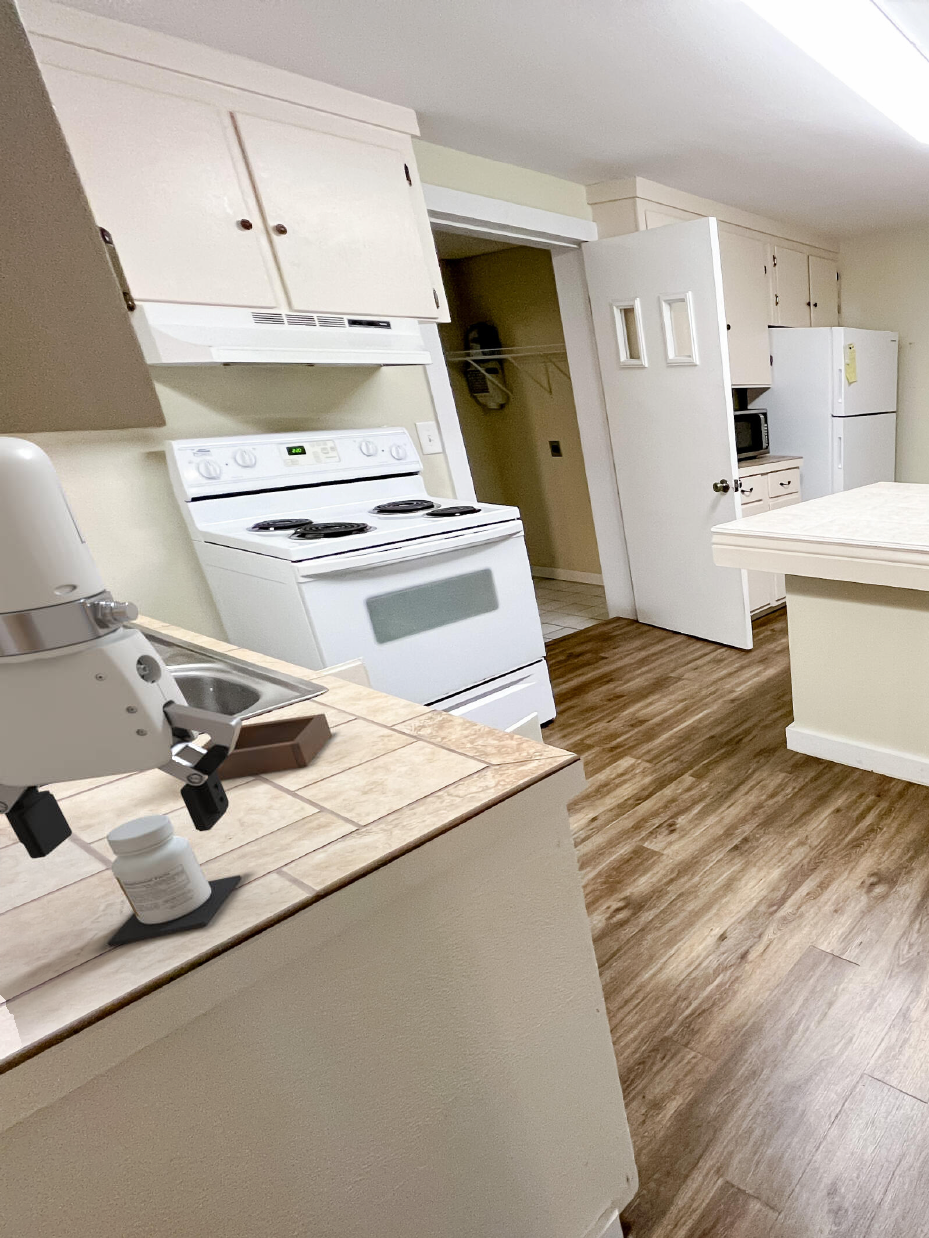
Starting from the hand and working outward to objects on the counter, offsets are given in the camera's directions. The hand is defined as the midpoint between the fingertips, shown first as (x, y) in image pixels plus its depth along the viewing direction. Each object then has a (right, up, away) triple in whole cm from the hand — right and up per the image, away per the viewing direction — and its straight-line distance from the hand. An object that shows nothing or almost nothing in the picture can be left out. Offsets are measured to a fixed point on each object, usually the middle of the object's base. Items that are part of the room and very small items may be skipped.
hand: (135, 833), depth 53 cm
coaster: (+1, -7, +3) cm, 8 cm away
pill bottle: (+1, -7, +3) cm, 7 cm away
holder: (-13, +2, +26) cm, 29 cm away
